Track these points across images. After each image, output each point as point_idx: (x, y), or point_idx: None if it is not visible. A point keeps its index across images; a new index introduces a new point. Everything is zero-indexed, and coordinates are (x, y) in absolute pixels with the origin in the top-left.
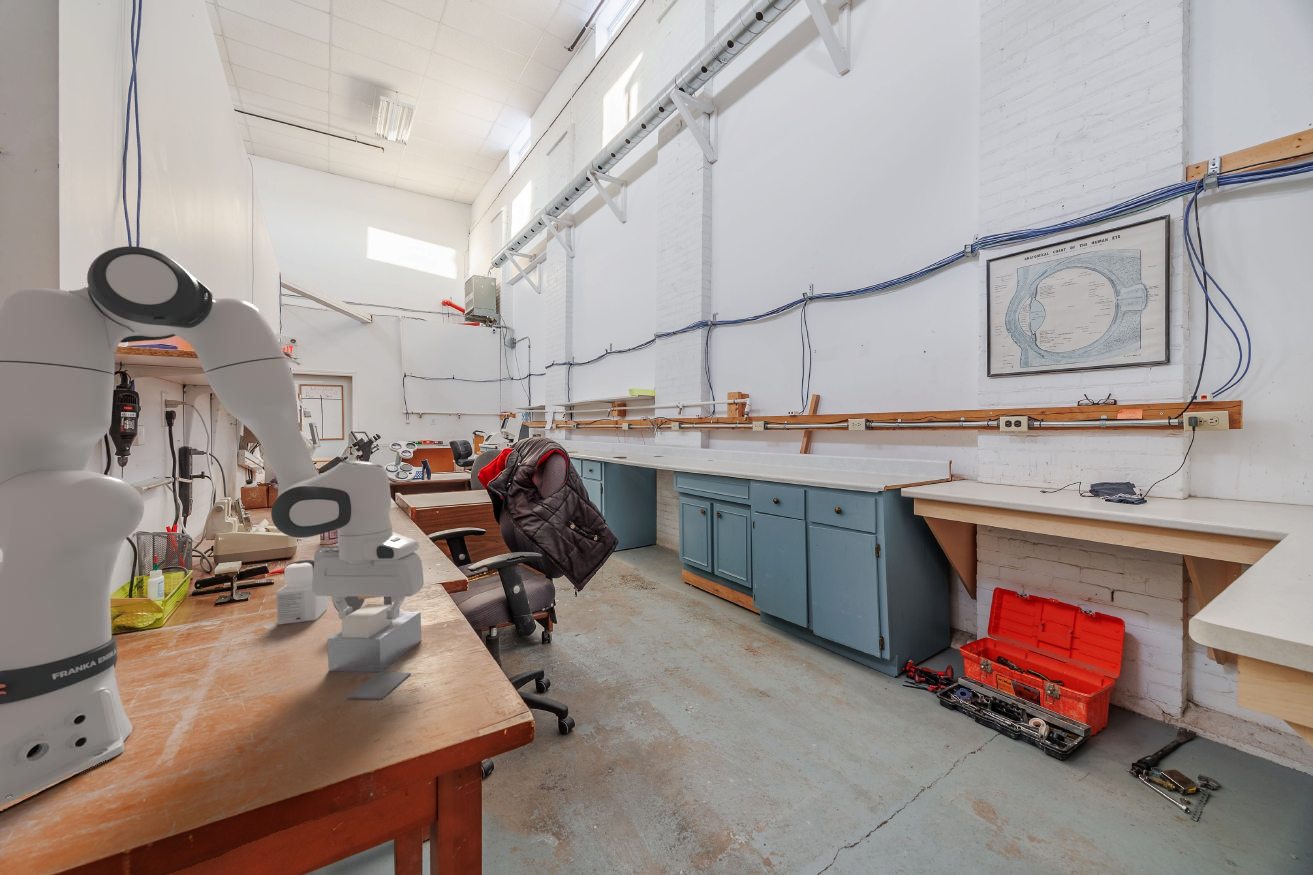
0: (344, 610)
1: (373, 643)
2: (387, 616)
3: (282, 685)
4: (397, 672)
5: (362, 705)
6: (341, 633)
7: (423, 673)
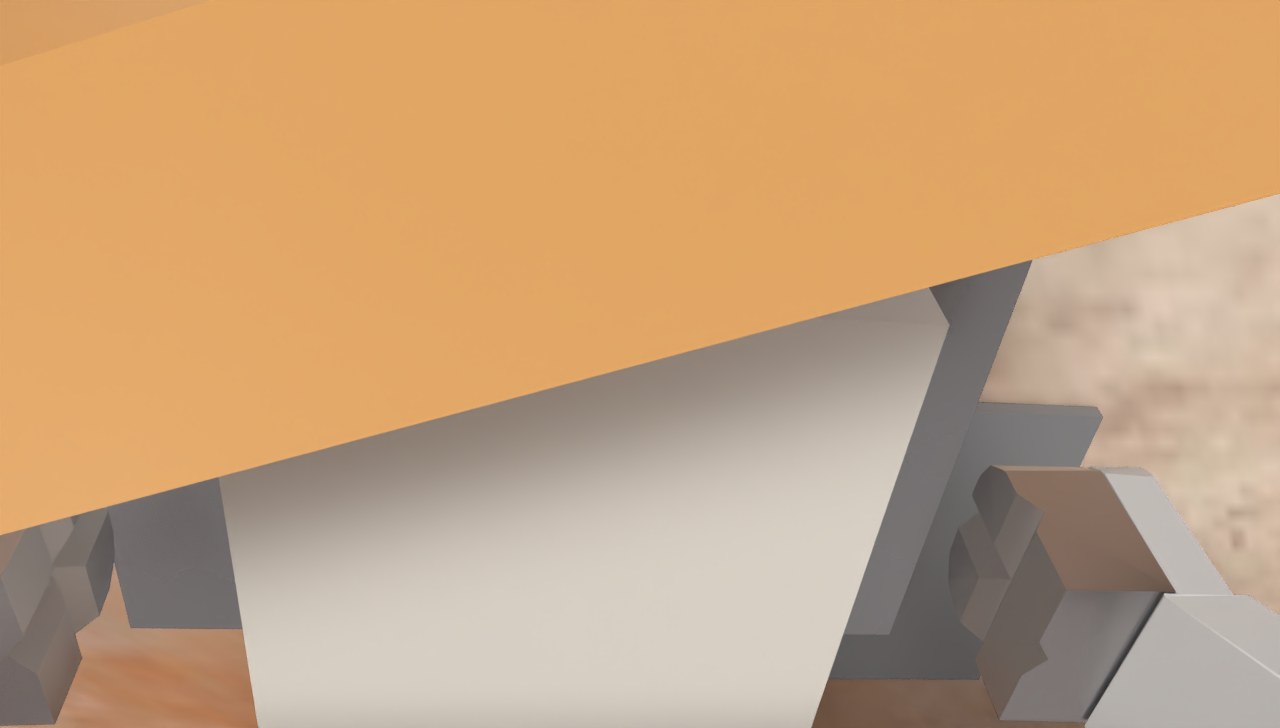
0: (17, 715)
1: None
2: (975, 616)
3: None
4: (980, 415)
5: (872, 712)
6: (197, 507)
7: (1204, 392)
